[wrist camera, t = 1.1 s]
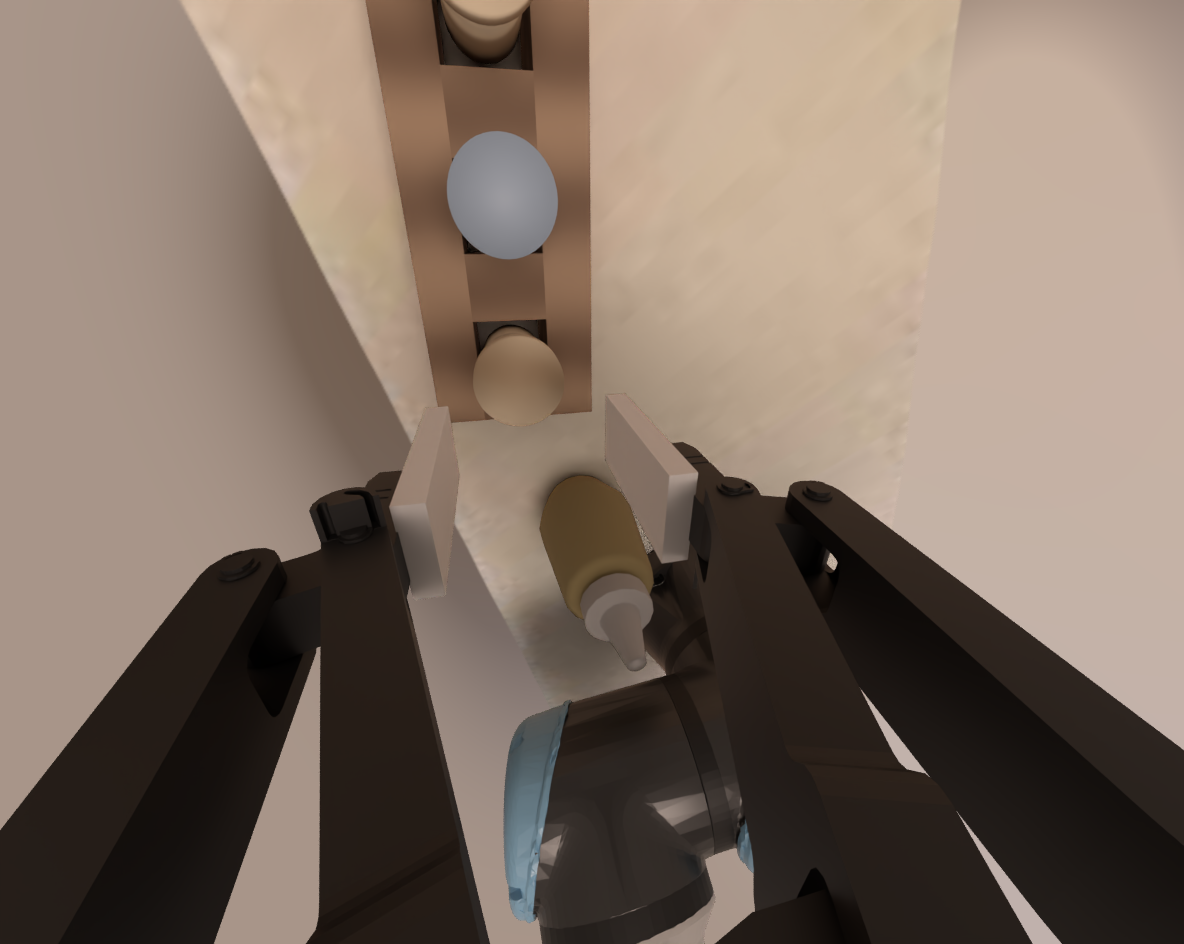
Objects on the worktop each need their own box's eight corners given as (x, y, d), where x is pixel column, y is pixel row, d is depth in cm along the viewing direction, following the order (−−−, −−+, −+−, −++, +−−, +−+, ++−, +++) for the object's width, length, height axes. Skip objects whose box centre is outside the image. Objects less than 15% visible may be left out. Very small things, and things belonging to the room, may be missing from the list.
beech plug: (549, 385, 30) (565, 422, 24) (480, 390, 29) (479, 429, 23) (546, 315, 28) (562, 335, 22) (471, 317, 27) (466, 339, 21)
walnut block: (576, 386, 35) (591, 411, 30) (448, 395, 34) (441, 423, 28) (566, -36, 24) (587, -113, 19) (373, -58, 22) (338, -149, 17)
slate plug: (542, 255, 26) (559, 258, 20) (463, 256, 25) (455, 260, 19) (537, 161, 24) (555, 133, 18) (450, 158, 23) (437, 128, 17)
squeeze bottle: (555, 451, 38) (603, 599, 22) (635, 477, 41) (727, 623, 25) (522, 527, 40) (545, 705, 25) (599, 545, 43) (662, 715, 28)
